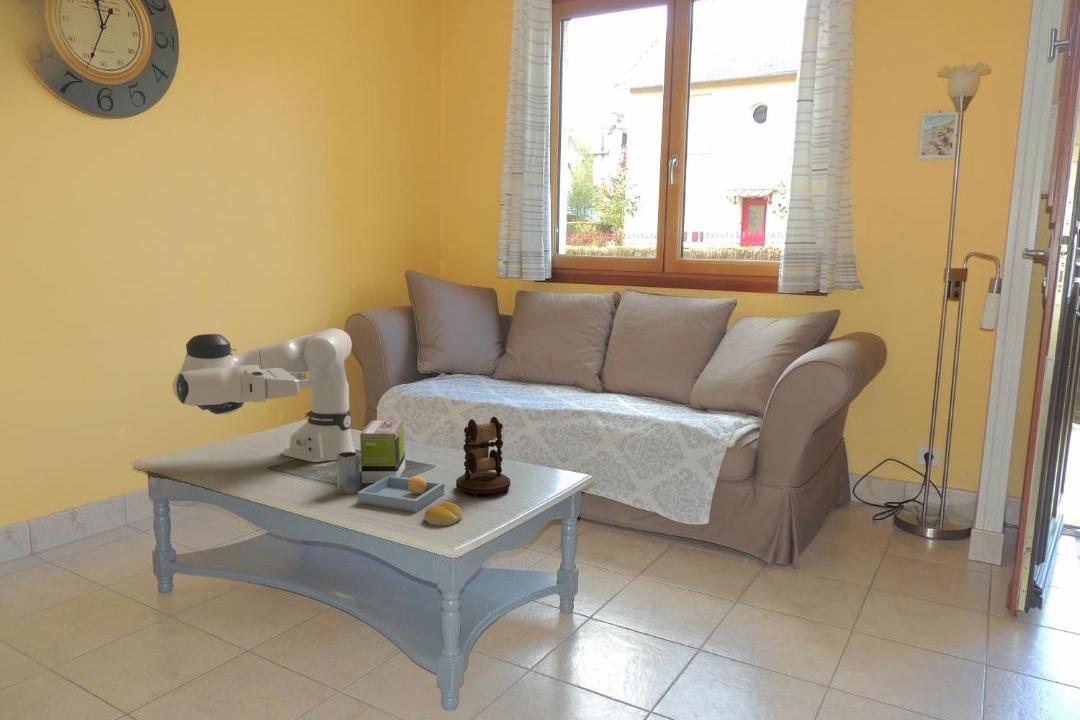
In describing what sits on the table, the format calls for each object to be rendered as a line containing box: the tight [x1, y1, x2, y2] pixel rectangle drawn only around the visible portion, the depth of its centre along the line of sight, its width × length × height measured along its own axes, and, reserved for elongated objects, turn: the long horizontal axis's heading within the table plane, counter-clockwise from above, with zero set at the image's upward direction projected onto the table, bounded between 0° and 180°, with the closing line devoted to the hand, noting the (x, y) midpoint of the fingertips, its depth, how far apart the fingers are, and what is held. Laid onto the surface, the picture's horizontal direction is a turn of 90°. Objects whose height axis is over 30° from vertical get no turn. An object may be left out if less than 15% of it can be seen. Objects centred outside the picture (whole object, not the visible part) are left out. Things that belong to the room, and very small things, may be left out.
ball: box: [408, 475, 427, 494], centre depth 202 cm, size 5×5×5 cm
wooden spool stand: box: [455, 416, 511, 498], centre depth 207 cm, size 15×15×20 cm
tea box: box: [359, 420, 406, 484], centre depth 218 cm, size 15×10×15 cm, turn 1°
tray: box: [357, 476, 445, 513], centre depth 200 cm, size 17×15×3 cm
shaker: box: [336, 451, 361, 495], centre depth 205 cm, size 5×5×10 cm
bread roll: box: [423, 501, 463, 527], centre depth 186 cm, size 8×9×4 cm
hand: (309, 379), depth 192 cm, fingers open, 8 cm apart
